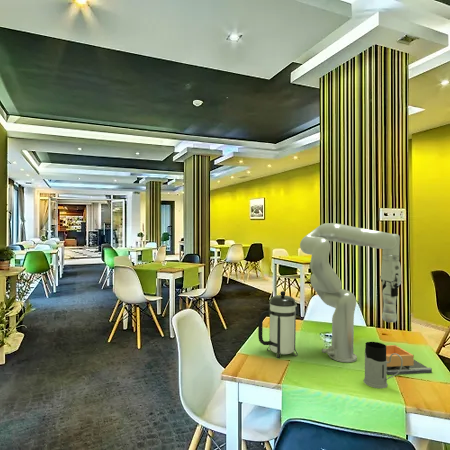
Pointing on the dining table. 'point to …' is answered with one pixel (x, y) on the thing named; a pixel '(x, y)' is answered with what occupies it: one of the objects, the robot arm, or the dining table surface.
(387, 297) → the plastic bottle
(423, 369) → the grey flat slab
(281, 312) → the coffee press
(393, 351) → the orange open tray
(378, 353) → the grey mug
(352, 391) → the dining table surface
